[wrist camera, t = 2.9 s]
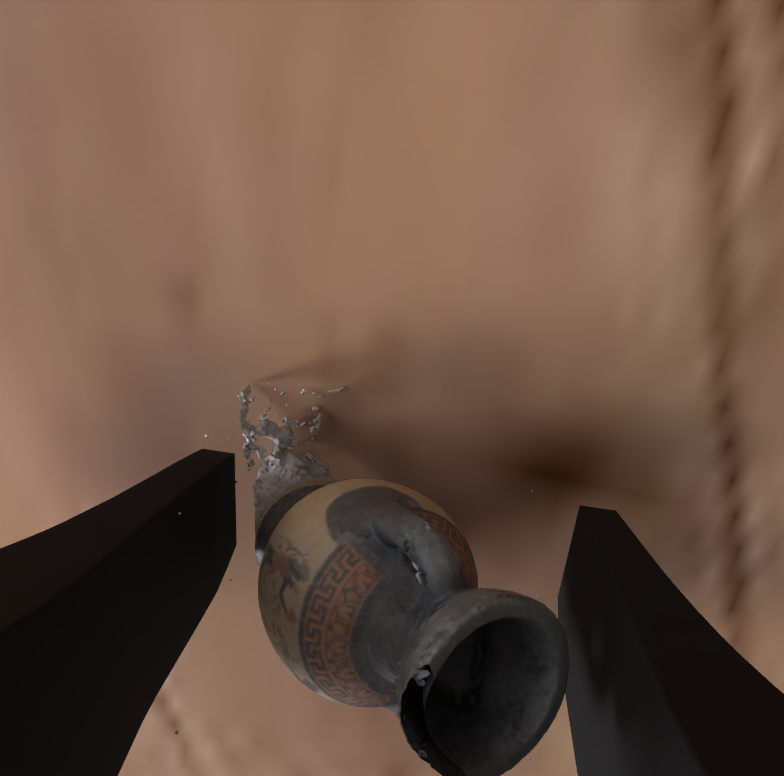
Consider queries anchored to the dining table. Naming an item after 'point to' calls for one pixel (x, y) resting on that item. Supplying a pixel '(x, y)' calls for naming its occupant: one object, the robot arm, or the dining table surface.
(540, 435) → the dining table surface
